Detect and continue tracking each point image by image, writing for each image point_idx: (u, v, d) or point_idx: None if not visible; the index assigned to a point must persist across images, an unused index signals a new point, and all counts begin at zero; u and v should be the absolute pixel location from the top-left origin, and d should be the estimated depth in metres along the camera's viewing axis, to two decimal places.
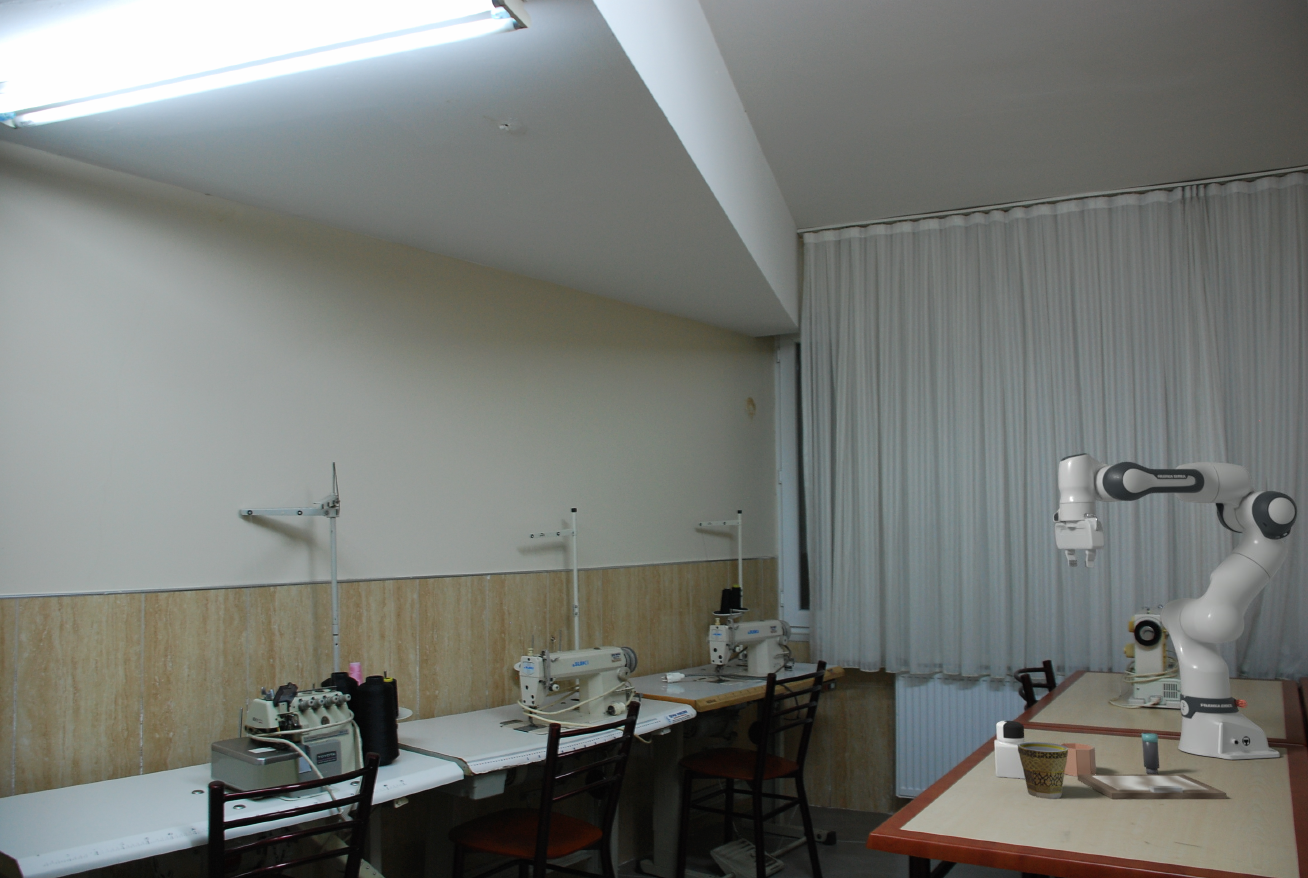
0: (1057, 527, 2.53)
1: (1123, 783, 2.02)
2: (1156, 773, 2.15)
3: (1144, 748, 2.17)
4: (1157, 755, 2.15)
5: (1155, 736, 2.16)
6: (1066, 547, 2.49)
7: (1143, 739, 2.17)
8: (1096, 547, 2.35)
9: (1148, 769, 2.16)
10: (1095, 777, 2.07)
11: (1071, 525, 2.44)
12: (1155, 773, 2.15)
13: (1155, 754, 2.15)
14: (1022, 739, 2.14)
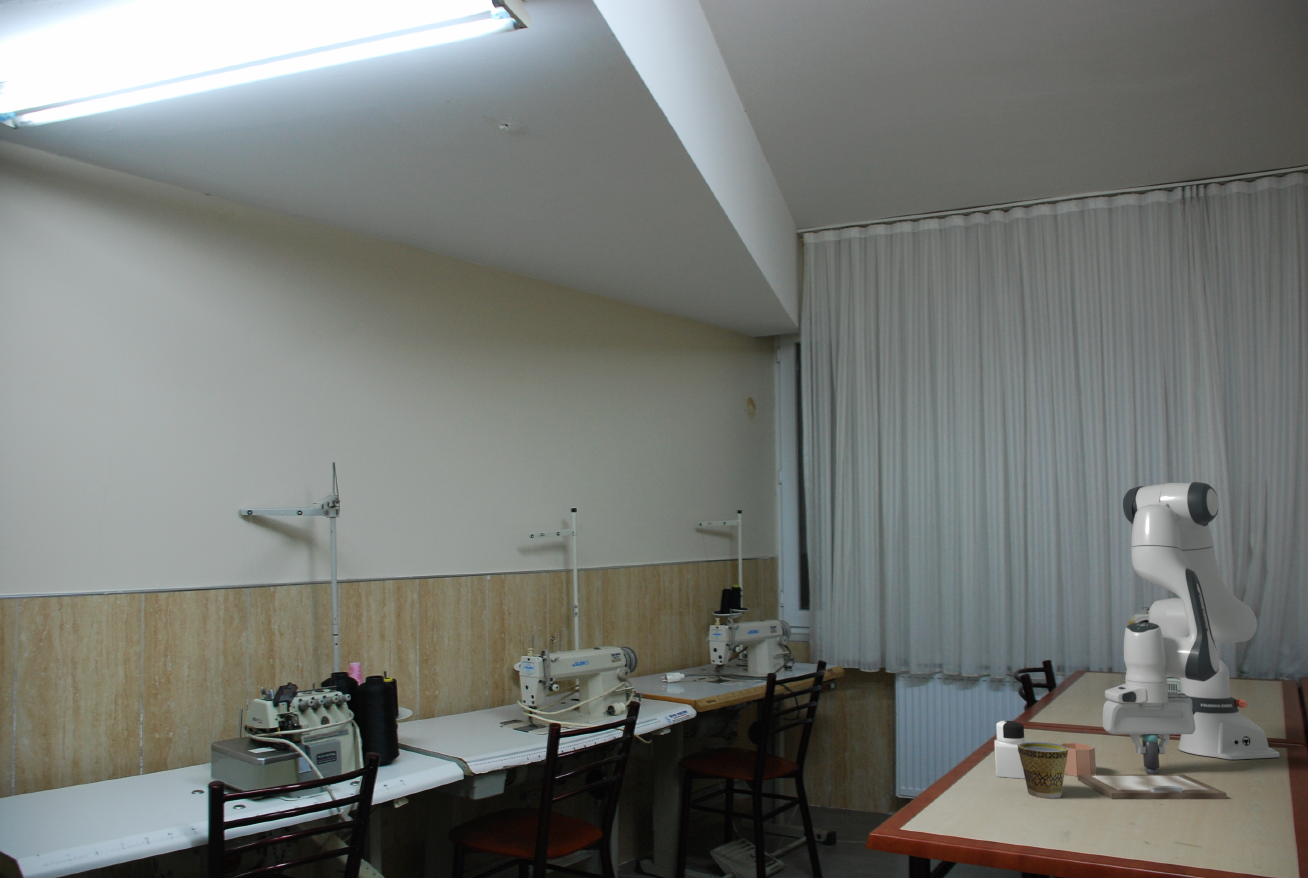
0: (1120, 708, 2.16)
1: (1123, 783, 2.02)
2: (1156, 773, 2.15)
3: None
4: (1157, 755, 2.15)
5: (1155, 736, 2.16)
6: (1135, 732, 2.16)
7: (1143, 739, 2.17)
8: None
9: (1148, 769, 2.16)
10: (1095, 777, 2.07)
11: (1160, 707, 2.15)
12: (1155, 773, 2.15)
13: (1155, 754, 2.15)
14: (1022, 739, 2.14)
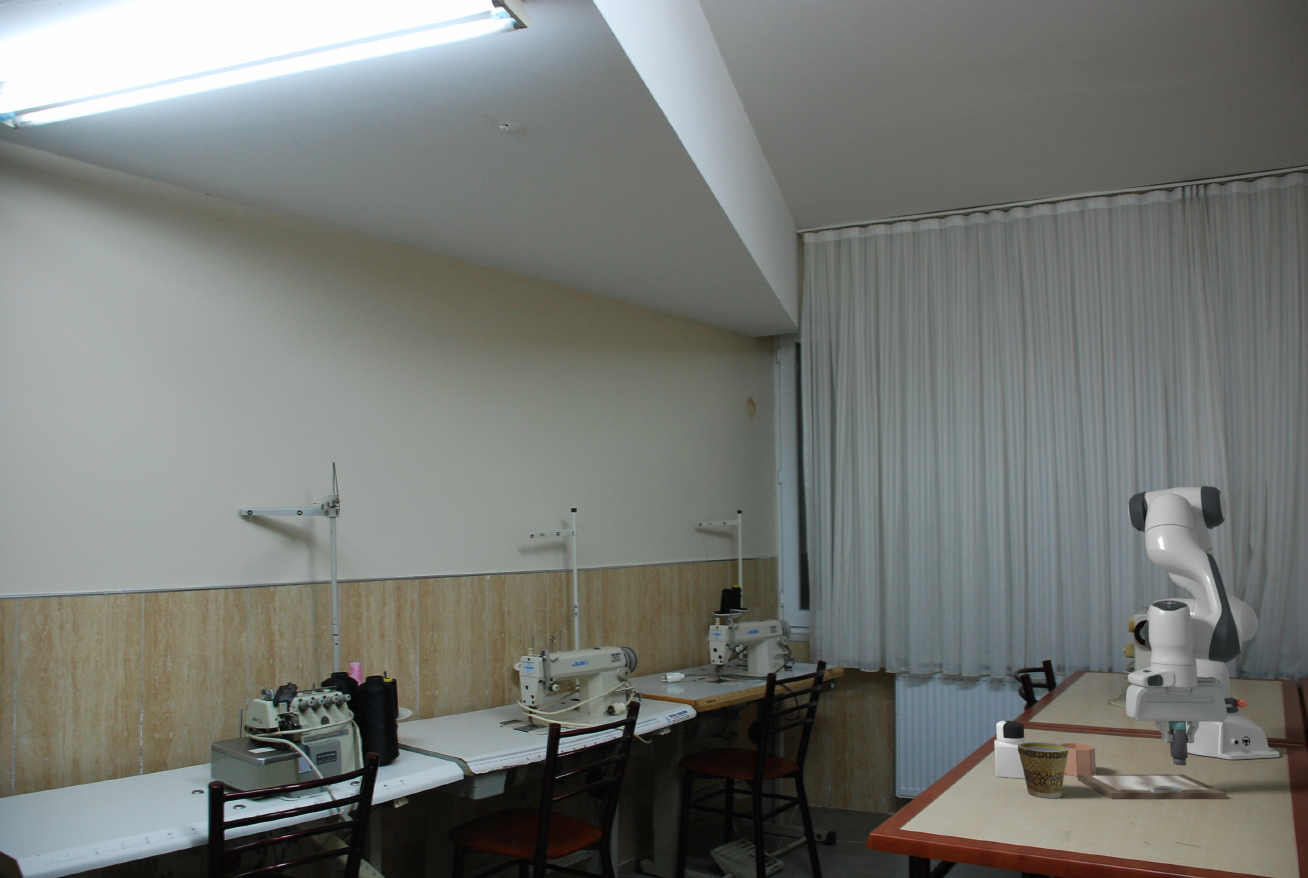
0: (1145, 693, 1.99)
1: (1123, 783, 2.02)
2: (1184, 763, 1.98)
3: None
4: (1185, 744, 1.98)
5: (1183, 723, 1.98)
6: (1162, 719, 1.98)
7: (1170, 726, 2.00)
8: None
9: (1176, 759, 1.98)
10: (1095, 777, 2.07)
11: (1189, 692, 1.98)
12: (1183, 763, 1.98)
13: (1183, 743, 1.98)
14: (1022, 739, 2.14)
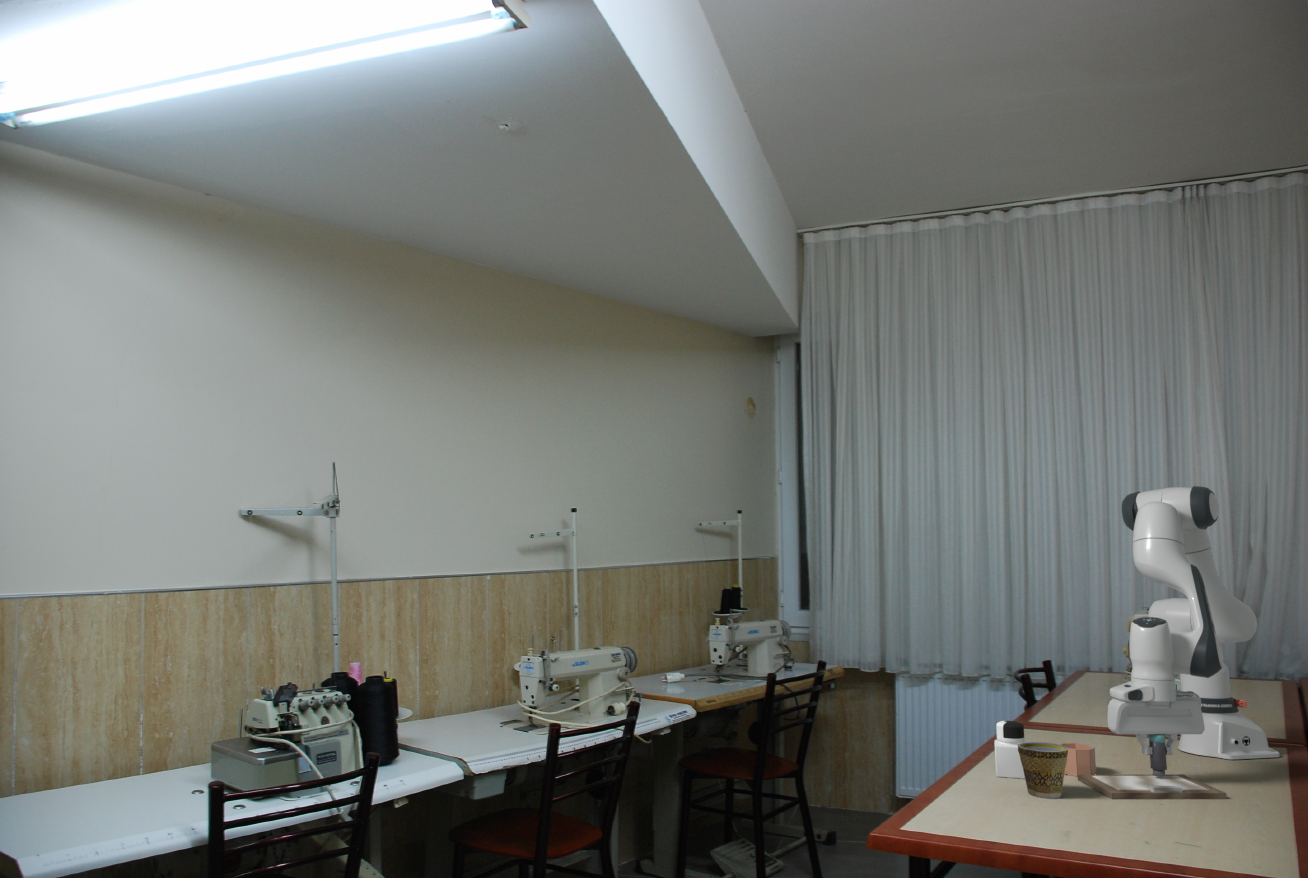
0: (1126, 707, 2.06)
1: (1123, 783, 2.02)
2: (1163, 775, 2.05)
3: None
4: (1164, 756, 2.06)
5: (1162, 736, 2.06)
6: (1142, 732, 2.06)
7: (1150, 739, 2.07)
8: None
9: (1155, 771, 2.06)
10: (1095, 777, 2.07)
11: (1168, 706, 2.06)
12: (1162, 775, 2.05)
13: (1162, 755, 2.05)
14: (1022, 739, 2.14)
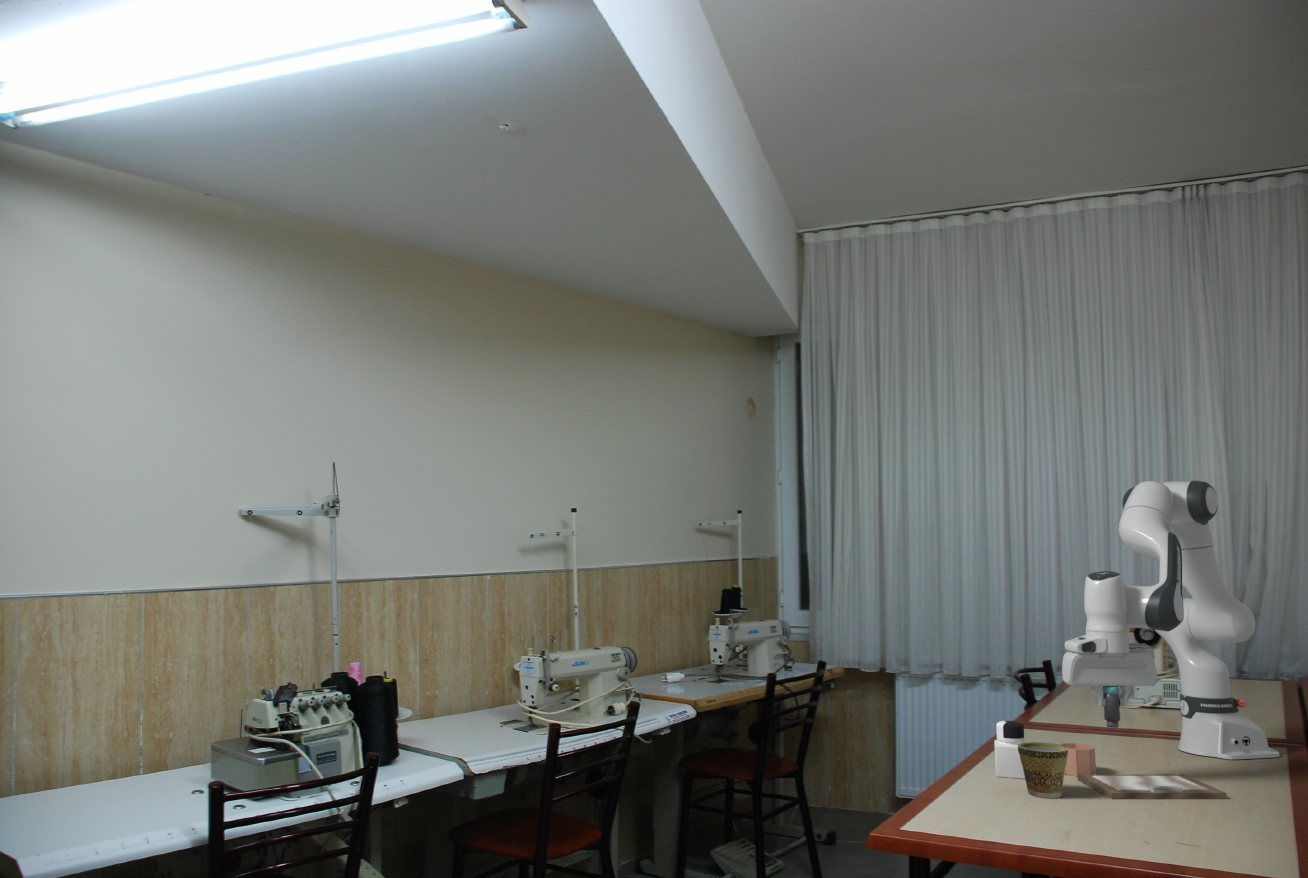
0: (1079, 659, 2.08)
1: (1123, 783, 2.02)
2: (1117, 726, 2.07)
3: None
4: (1118, 707, 2.07)
5: (1116, 688, 2.08)
6: (1095, 683, 2.08)
7: (1104, 691, 2.09)
8: None
9: (1109, 722, 2.08)
10: (1095, 777, 2.07)
11: (1121, 658, 2.07)
12: (1116, 726, 2.07)
13: (1116, 706, 2.07)
14: (1022, 739, 2.14)
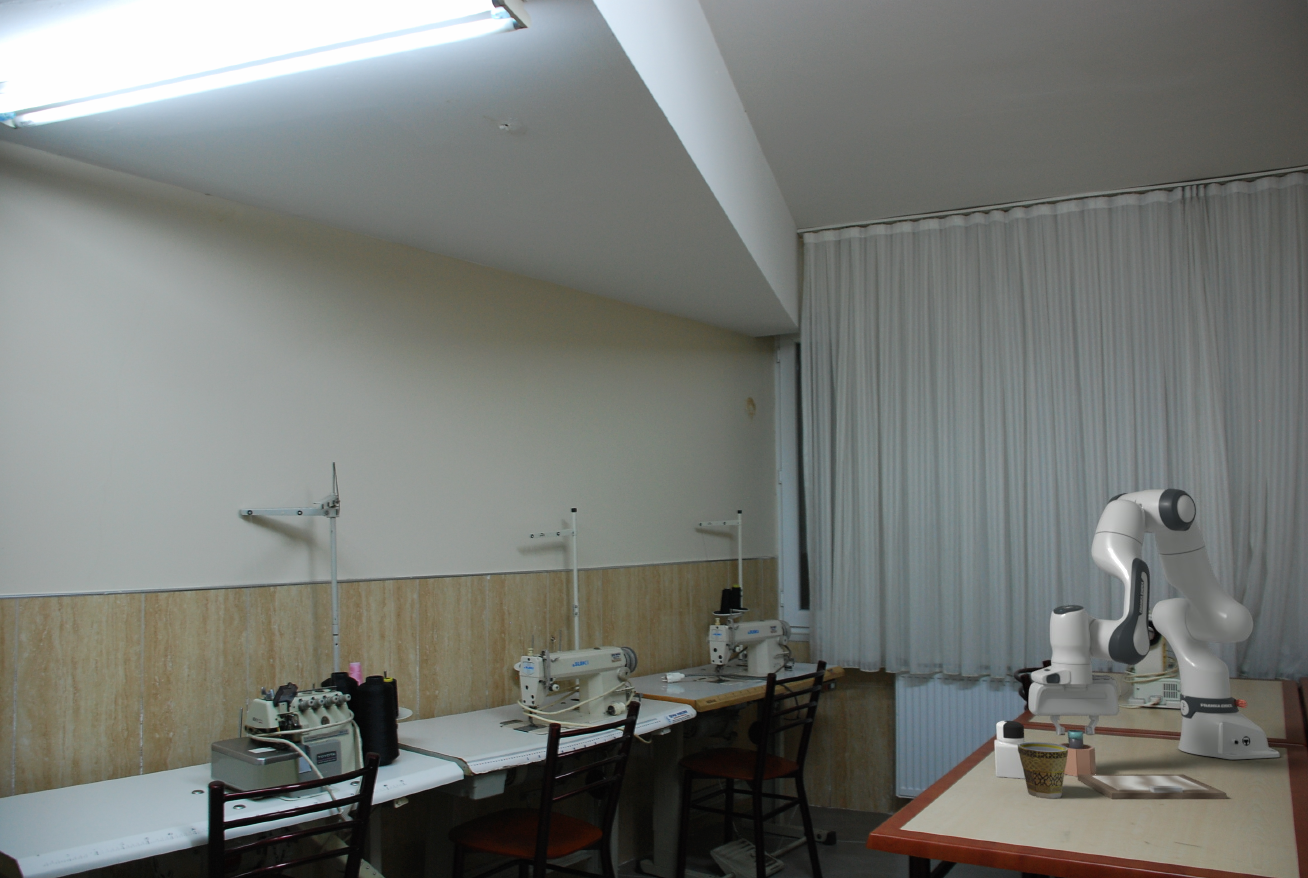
0: (1044, 690, 2.17)
1: (1123, 783, 2.02)
2: None
3: (1070, 745, 2.18)
4: None
5: (1080, 733, 2.17)
6: (1060, 713, 2.17)
7: (1069, 736, 2.18)
8: None
9: None
10: (1095, 777, 2.07)
11: (1084, 689, 2.17)
12: None
13: None
14: (1022, 739, 2.14)
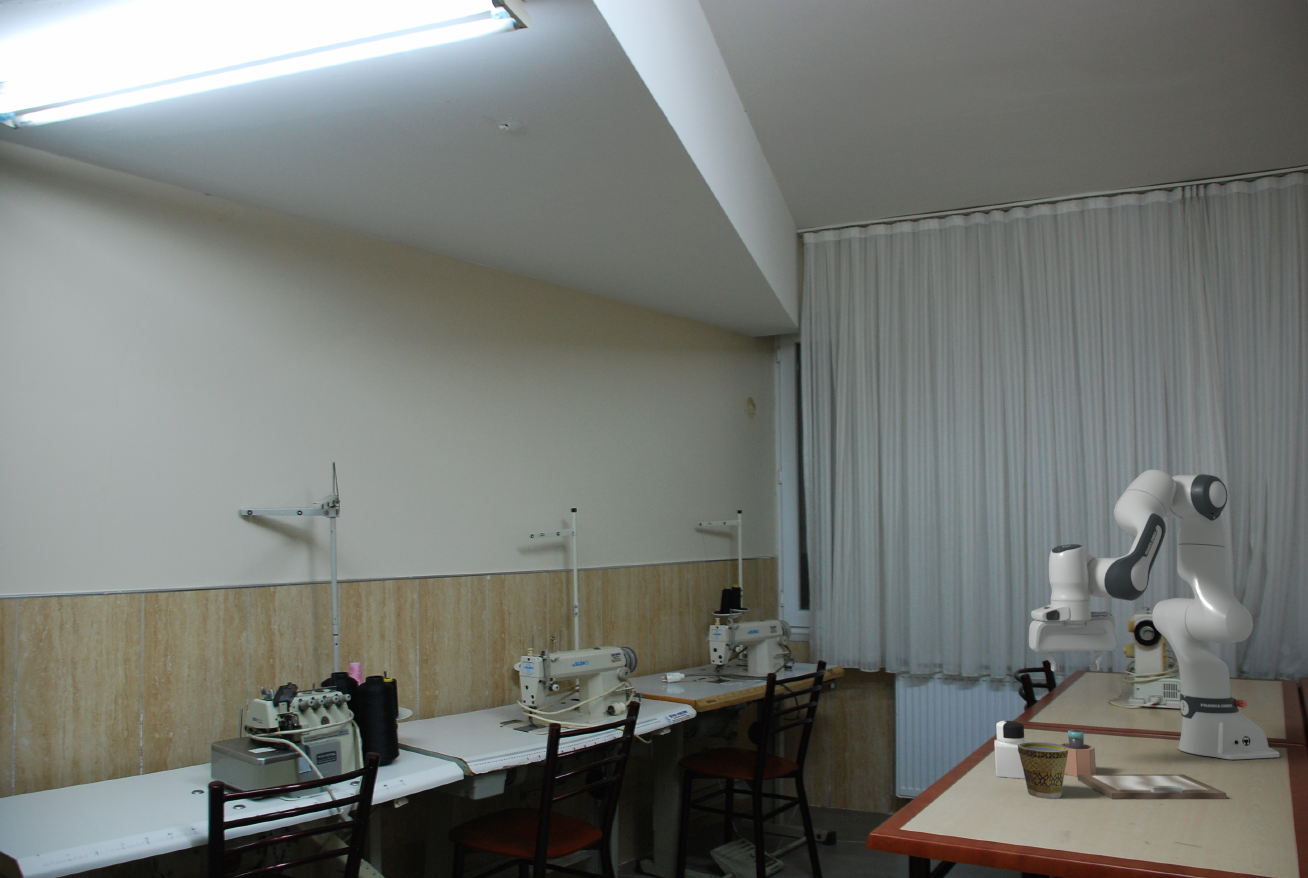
0: (1044, 627, 2.21)
1: (1123, 783, 2.02)
2: None
3: (1070, 745, 2.18)
4: None
5: (1081, 733, 2.17)
6: (1060, 649, 2.21)
7: (1069, 736, 2.18)
8: None
9: None
10: (1095, 777, 2.07)
11: (1083, 625, 2.21)
12: None
13: None
14: (1022, 739, 2.14)
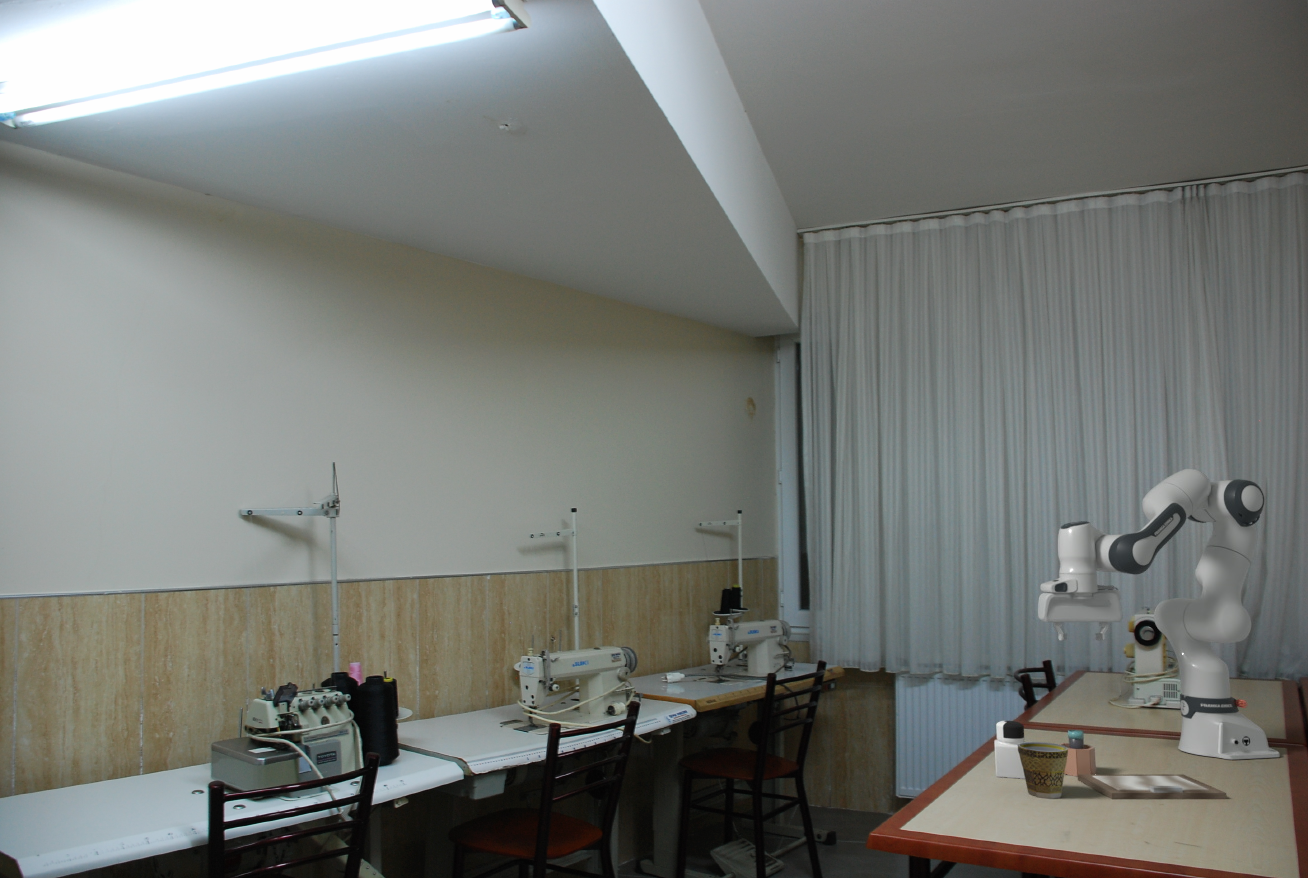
0: (1053, 598, 2.34)
1: (1123, 783, 2.02)
2: None
3: (1070, 745, 2.18)
4: None
5: (1081, 733, 2.17)
6: (1067, 620, 2.33)
7: (1069, 736, 2.18)
8: None
9: None
10: (1095, 777, 2.07)
11: (1090, 597, 2.33)
12: None
13: None
14: (1022, 739, 2.14)
